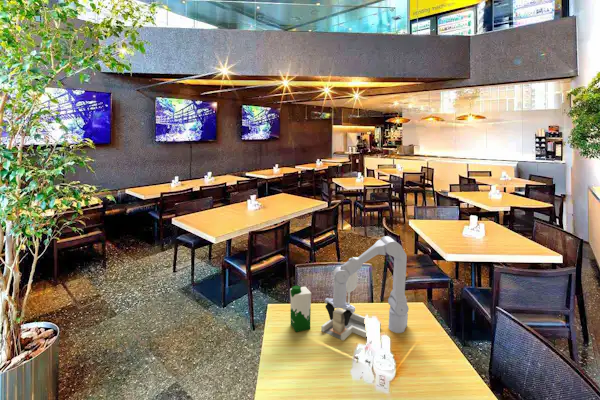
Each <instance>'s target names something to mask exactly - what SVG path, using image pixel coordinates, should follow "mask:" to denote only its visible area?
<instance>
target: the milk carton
mask: <svg viewBox="0 0 600 400" xmlns="http://www.w3.org/2000/svg"><path fill="white" fill-rule="evenodd" d="M289 295H290V298H289V299H290V325H291V327H292V329H293V330H294V332H295V331H296V332H295V333H299V332H303V331H307V330H311V316H312V315H311V310H312V309H311V307H312V306H311V305H312V304H311V303H312V302H311V299H312V292H311V291H310V290H309V289H308V288H307V286H301V285H293V286H291V288H289Z"/></svg>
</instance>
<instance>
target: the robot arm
mask: <svg viewBox="0 0 600 400" xmlns="http://www.w3.org/2000/svg"><path fill="white" fill-rule="evenodd" d="M378 255H382V256H387V255H389V256H391V257H393V273H392V274H393V275H392V276H393V277H392V290H391V291H390V293H389V297H388V299H387V302H388V305H390V307H389V310H388V311H389V313H388V329H389V330H390V331H391V332H393V333H396V334H402V333H404V332H405V331H406V328H407V327H408V316H409V314H408V313H409V305H408V299H407V297H406V293H405V292H406V291H405V290H406V278H407V277H406V275H407V263H408V262H407V259H408V256H407V253H406V251H405V250H404V249H403V245H401V244H400V243H399V242H397V241H396V240H395V239H393V238H392V237H391V236H390V235H389V236H388V235H386V236H385V235H384V236H383V237H381V238H380V239H378V240H376V242H375V243H374V244H373V245H371V246H370V247H369V248H368V249H367V250H365V251H363V252H362V253H361V254H360V255H359V256H358V257H356V256H354V257H353V256H352V257H350V258H348V260H347V261H346V262H345V263H343V264H340V265H339V266H336V267H335V268H334V269H333V271H332V275H333V277H334V278H333V293H332V295H333V297H332V298H331V297H330V298H329V297H326V298H325V299H324V304H325V310H326V311H327V312H328V316H329V320H332V319H333V311H335V310H336V309H337V308H339V309H342V310H343V309H345V310H346V311H345V312H344V313H343V314H344V319H345V320H344V325H345V326H347V325H348V323H349V319H350V317H351V315H352V313H355V311H356V306H355V307H353V306H354V305H353V306H351V305H352V304H350V305H349V304H348V302H347V291H346V287H347V285H346V282H347V281H348V278H349V276H351V275H352V274H354V273H355V272H358V271H359V270H361V269H362V266H363V264H364V263H367V262H368V261H370V260H371V259H372V258H374V257H376V256H378Z"/></svg>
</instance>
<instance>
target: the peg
mask: <svg viewBox="0 0 600 400" xmlns="http://www.w3.org/2000/svg"><path fill="white" fill-rule="evenodd" d="M344 312H345V311H344V310H343V309H342V308H335V309H334V311H333V330H334V331H336V332H339V333H341V332H342V331H343V330H345V325H344V320H345V319H344V314H343V313H344Z"/></svg>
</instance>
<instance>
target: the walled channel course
mask: <svg viewBox="0 0 600 400" xmlns="http://www.w3.org/2000/svg"><path fill="white" fill-rule="evenodd" d="M342 310H344V309H342ZM344 311H346V310H344ZM365 317H366V316H363V315H360V314H358V313H355V312H353V313H352V315H351V317H350V319H349V323H348V325H347V326H345V330H343V331H342V332H341V333H339V332H336V331H334V330H333V319H332V320H330V319H329V320H327V321H326V322H325V323H324V324H322V325H321V329H320V330H321V332H323V333H325V334H327V335H329V336H332V337H334V338H336V339H338V340H341V341H345V340H346V339H347V338H348V337H349V336H350V335H351V334H352V333H353V334H356V335H358V336H361V337H362V338H364V339H367V338H366V330H365V324H364V319H365ZM381 324H382V323H381V322H380V327H381Z"/></svg>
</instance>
